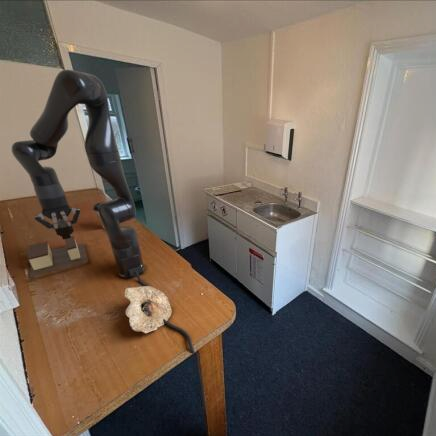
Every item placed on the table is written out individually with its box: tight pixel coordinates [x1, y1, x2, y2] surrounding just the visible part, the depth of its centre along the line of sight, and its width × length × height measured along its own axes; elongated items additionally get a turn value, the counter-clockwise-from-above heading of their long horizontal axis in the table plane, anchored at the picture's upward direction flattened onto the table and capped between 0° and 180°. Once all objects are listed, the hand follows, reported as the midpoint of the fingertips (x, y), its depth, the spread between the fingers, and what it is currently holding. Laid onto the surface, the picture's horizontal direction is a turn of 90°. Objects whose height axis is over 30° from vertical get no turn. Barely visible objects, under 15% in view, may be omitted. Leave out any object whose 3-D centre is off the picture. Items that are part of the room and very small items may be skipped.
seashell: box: [124, 285, 172, 334], centre depth 81 cm, size 18×14×8 cm
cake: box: [27, 241, 53, 270], centre depth 100 cm, size 12×6×6 cm, turn 44°
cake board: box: [29, 242, 89, 278], centre depth 104 cm, size 20×18×2 cm
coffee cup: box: [92, 201, 105, 230], centre depth 130 cm, size 10×10×15 cm
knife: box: [57, 219, 72, 241], centre depth 98 cm, size 21×2×6 cm, turn 44°
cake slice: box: [64, 235, 80, 260], centre depth 107 cm, size 12×3×6 cm, turn 44°
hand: (66, 234), depth 96 cm, fingers closed on knife, 2 cm apart
